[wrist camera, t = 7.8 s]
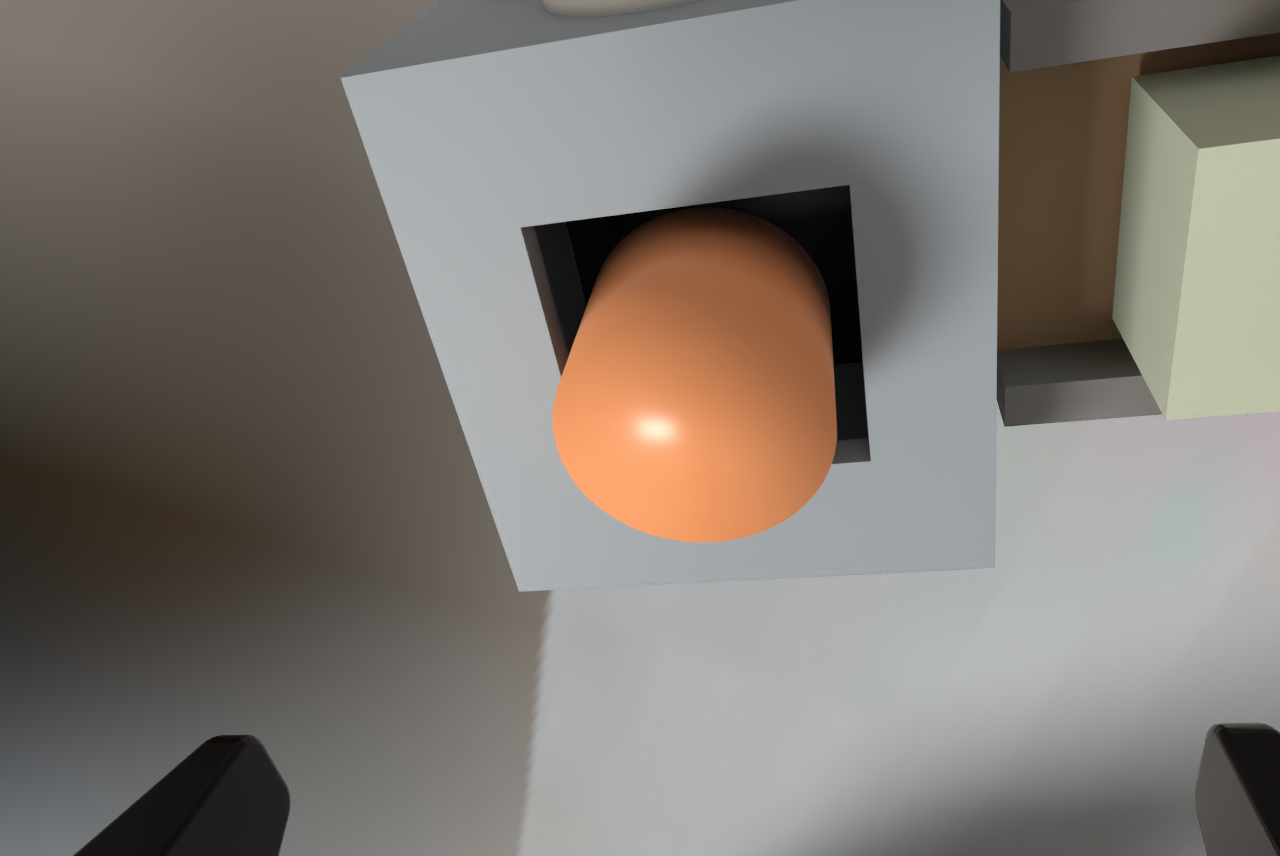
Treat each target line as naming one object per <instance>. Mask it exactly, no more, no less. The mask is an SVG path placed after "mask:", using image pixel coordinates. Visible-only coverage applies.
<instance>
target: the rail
mask: <svg viewBox="0 0 1280 856" xmlns="http://www.w3.org/2000/svg"><path fill="white" fill-rule="evenodd" d="M1273 56H1280V0H1000V82H999V188H998V294H997V402H998V405H999V409H1000V412H1001V416H1002V419H1003V423H1004V426H1017V425H1030V424H1043V423H1056V422H1069V421H1082V420H1094V419H1107V418H1120V417H1133V416H1146V415H1159V414H1162V412H1161V410H1160V409H1159V407H1158V405H1157V403H1156V401H1155V399H1154V397H1153V395H1152V393H1151V391H1150V389H1149V387H1148V386H1147V384H1146V382H1145V380H1144V378H1143V376H1142V374H1141V372H1140V370H1139V368H1138V366H1137V364H1136V363H1135V361H1134V359H1133V357H1132V355H1131V353H1130V351H1129V349H1128V347H1127V345H1126V343H1125V342H1124V340H1123V338H1122V336H1121V334H1120V332H1119V330H1118V328H1117V326H1116V324H1115V322H1114V320H1113V319H1112V316H1113V303H1114V291H1115V279H1116V266H1117V254H1118V242H1119V229H1120V217H1121V205H1122V192H1123V180H1124V168H1125V155H1126V143H1127V131H1128V118H1129V106H1130V94H1131V81H1132V77H1134V76H1140V75H1147V74H1154V73H1161V72H1168V71H1175V70H1182V69H1189V68H1196V67H1203V66H1210V65H1217V64H1224V63H1231V62H1238V61H1245V60H1252V59H1259V58H1266V57H1273Z"/></svg>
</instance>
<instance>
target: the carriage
mask: <svg viewBox="0 0 1280 856" xmlns="http://www.w3.org/2000/svg"><path fill="white" fill-rule="evenodd" d="M1112 319H1113V320H1114V322H1115V324H1116V326H1117V328H1118V330H1119V332H1120V334H1121V336H1122V338H1123V340H1124V342H1125V343H1126V345H1127V347H1128V349H1129V351H1130V353H1131V355H1132V357H1133V359H1134V361H1135V363H1136V364H1137V366H1138V368H1139V370H1140V372H1141V374H1142V376H1143V378H1144V380H1145V382H1146V384H1147V386H1148V387H1149V389H1150V391H1151V393H1152V395H1153V397H1154V399H1155V401H1156V403H1157V405H1158V407H1159V409H1160V410H1161V412H1162V414H1163V416H1164V418H1165V420H1174V419H1187V418H1200V417H1213V416H1226V415H1239V414H1252V413H1265V412H1278V411H1280V56H1273V57H1266V58H1259V59H1252V60H1245V61H1238V62H1231V63H1224V64H1217V65H1210V66H1203V67H1196V68H1189V69H1182V70H1175V71H1168V72H1161V73H1154V74H1147V75H1140V76H1134V77H1132V81H1131V94H1130V106H1129V118H1128V131H1127V143H1126V155H1125V168H1124V180H1123V192H1122V205H1121V217H1120V229H1119V242H1118V254H1117V266H1116V279H1115V291H1114V303H1113V316H1112Z"/></svg>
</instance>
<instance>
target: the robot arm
mask: <svg viewBox="0 0 1280 856" xmlns="http://www.w3.org/2000/svg"><path fill="white" fill-rule="evenodd" d="M1195 801H1196V810H1197V816H1198V820H1199V824H1200V828H1201V832H1202V836H1203V840H1204V844H1205V848H1206V852H1207V856H1280V732H1278V731H1277V730H1276V729H1274V728H1273V727H1270V726H1268V725H1266V724H1260V723H1226V724H1215V725H1213V726H1212V727H1211V728H1210V729H1209V730H1208V733H1207V735H1206V739H1205V744H1204V749H1203V754H1202V759H1201V764H1200V769H1199V773H1198V778H1197V783H1196V789H1195ZM289 811H290V794H289V790H288V786H287V784H286V782H285V781H284V779H283V777H282V776H281V774H280V772H279V771H278V769H277V767H276V765H275V764H274V762H273V760H272V759H271V757H270V755H269V754H268V752H267V750H266V748H265V747H264V745H263V744H262V742H261V741H260V740H259V739H258V738H256V737H254V736H252V735H220V736H216V737H213V738H211V739H209V740H207V741H206V742H205V743H203V744H202V745H201V746H199V747H198V748H197V749H196V750H195V751H194V752H193V753H191V754H190V755H189V756H188V757H187V758H186V759H184V760H183V761H182V762H181V763H180V764H179V765H177V766H176V767H175V768H174V769H173V770H172V771H171V772H169V773H168V774H167V775H166V776H165V777H164V778H162V779H161V780H160V781H159V782H158V783H157V784H155V785H154V786H153V787H152V788H151V789H150V790H149V791H147V792H146V793H145V794H144V795H143V796H142V797H140V799H138V800H137V801H136V802H135V803H134V804H132V805H131V806H130V807H129V808H128V809H127V810H125V811H124V812H123V813H122V814H121V815H120V816H118V817H117V818H116V819H115V820H114V821H113V822H112V823H110V824H109V825H108V826H107V827H106V828H105V829H103V830H102V831H101V832H100V833H99V834H98V835H97V836H96V837H94V838H93V839H92V840H91V841H90V842H88V843H87V844H86V845H85V846H84V847H83V848H81V849H80V850H79V851H78V852H77V853H76V854H74V855H73V856H279V852H280V849H281V845H282V841H283V837H284V833H285V829H286V825H287V821H288V816H289Z"/></svg>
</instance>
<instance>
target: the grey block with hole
mask: <svg viewBox="0 0 1280 856" xmlns="http://www.w3.org/2000/svg"><path fill="white" fill-rule="evenodd" d="M341 80H342V83H343V86H344V89H345V92H346V95H347V98H348V100H349V103H350V106H351V109H352V112H353V115H354V118H355V121H356V123H357V127H358V129H359V132H360V135H361V138H362V141H363V144H364V147H365V150H366V152H367V155H368V158H369V161H370V164H371V167H372V170H373V172H374V175H375V178H376V181H377V184H378V187H379V190H380V193H381V196H382V198H383V201H384V204H385V207H386V210H387V213H388V216H389V219H390V221H391V224H392V227H393V230H394V233H395V236H396V239H397V242H398V244H399V247H400V250H401V253H402V256H403V259H404V261H405V264H406V267H407V270H408V273H409V276H410V279H411V282H412V285H413V288H414V291H415V293H416V296H417V299H418V302H419V305H420V307H421V310H422V313H423V316H424V319H425V322H426V325H427V328H428V331H429V334H430V337H431V339H432V342H433V345H434V348H435V351H436V354H437V357H438V359H439V362H440V365H441V368H442V371H443V374H444V377H445V380H446V383H447V385H448V388H449V391H450V394H451V397H452V400H453V402H454V405H455V408H456V411H457V414H458V417H459V420H460V423H461V426H462V429H463V432H464V434H465V437H466V440H467V443H468V446H469V449H470V452H471V455H472V457H473V460H474V463H475V466H476V469H477V472H478V475H479V478H480V480H481V483H482V486H483V489H484V492H485V495H486V498H487V501H488V503H489V506H490V509H491V512H492V515H493V518H494V521H495V524H496V526H497V529H498V532H499V535H500V538H501V541H502V544H503V546H504V549H505V552H506V555H507V558H508V561H509V564H510V567H511V569H512V573H513V575H514V578H515V581H516V584H517V587H518V590H519V591H538V590H560V589H580V588H600V587H620V586H640V585H660V584H680V583H700V582H720V581H740V580H760V579H780V578H800V577H820V576H840V575H860V574H880V573H901V572H921V571H941V570H961V569H981V568H995V506H996V400H997V294H998V188H999V82H1000V0H438V1H437V2H436V3H434V4H433V5H432V6H430V7H429V8H428V9H427V10H425V11H424V12H423V13H422V14H420V15H419V16H418V17H417V18H415V19H414V20H413V21H412V22H410V23H409V24H408V25H407V26H405V27H404V28H403V29H402V30H400V31H399V32H398V33H397V34H395V35H394V36H393V37H391V38H390V39H389V40H388V41H386V42H385V43H384V44H383V45H381V46H380V47H379V48H378V49H376V50H375V51H374V52H373V53H371V54H370V55H369V56H368V57H366V58H365V59H364V60H363V61H361V62H360V63H359V64H357V65H356V66H355V67H354V68H352V69H351V70H350V71H349V72H347V73H346V74H345V75H344V76H342V77H341ZM844 185H849V189H850V202H851V215H852V228H853V241H854V254H855V267H856V280H857V294H858V307H859V320H860V333H861V346H862V359H863V362H856V363H845V364H834V383H835V401H836V419H837V442H836V449H835V455H834V458H833V461H832V464H831V468H830V470H829V472H828V474H827V476H826V478H825V480H824V482H823V484H822V485H821V486H820V488H819V489H818V491H817V492H816V493H815V495H814V496H813V497H812V498H811V499H810V500H809V501H808V502H807V503H806V504H805V505H804V506H803V507H802V508H801V509H800V510H799V511H797V512H796V513H795V514H794V515H792V516H791V517H789V518H788V519H786V520H785V521H783V522H781V523H780V524H778V525H776V526H774V527H772V528H770V529H767V530H765V531H763V532H760V533H757V534H754V535H751V536H748V537H744V538H740V539H735V540H730V541H722V542H704V543H695V542H684V541H676V540H671V539H666V538H661V537H658V536H654V535H651V534H647V533H644V532H642V531H639V530H637V529H635V528H632V527H630V526H628V525H626V524H624V523H622V522H620V521H618V520H616V519H615V518H613V517H612V516H610V515H609V514H607V513H606V512H604V511H603V510H601V509H600V508H599V507H598V506H597V505H595V504H594V503H593V502H592V501H591V500H590V499H589V498H588V497H587V496H586V495H585V494H584V493H583V492H582V491H581V490H580V489H579V488H578V486H577V485H576V484H575V482H574V481H573V480H572V478H571V477H570V475H569V474H568V472H567V470H566V468H565V466H564V465H563V463H562V461H561V458H560V456H559V453H558V450H557V447H556V443H555V439H554V434H553V421H552V414H553V405H554V399H555V396H556V392H557V388H558V385H559V382H560V379H561V377H562V374H563V371H564V368H565V365H566V363H567V360H568V357H569V354H570V351H571V349H572V346H573V343H574V340H575V337H576V335H577V332H578V329H579V326H580V323H581V321H582V318H583V315H584V312H585V309H586V307H587V306H586V302H585V298H584V294H583V290H582V286H581V281H580V277H579V273H578V269H577V265H576V261H575V257H574V253H573V249H572V245H571V241H570V236H569V232H568V228H567V224H566V222H567V221H575V220H582V219H590V218H598V217H606V216H613V215H621V214H629V213H636V212H644V211H652V210H659V209H667V208H675V207H683V206H690V205H698V204H706V203H713V202H721V201H729V200H736V199H744V198H752V197H760V196H767V195H775V194H783V193H790V192H798V191H806V190H813V189H821V188H829V187H837V186H844Z"/></svg>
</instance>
